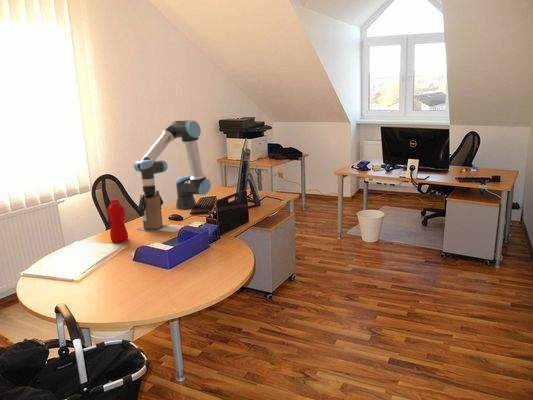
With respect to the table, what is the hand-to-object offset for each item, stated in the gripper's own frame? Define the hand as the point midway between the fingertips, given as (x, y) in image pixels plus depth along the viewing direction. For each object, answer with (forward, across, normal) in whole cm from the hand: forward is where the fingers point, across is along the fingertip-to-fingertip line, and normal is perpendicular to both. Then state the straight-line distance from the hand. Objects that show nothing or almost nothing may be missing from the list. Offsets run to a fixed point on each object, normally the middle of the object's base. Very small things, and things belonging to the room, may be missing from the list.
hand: (152, 217), depth 282 cm
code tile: (+7, 0, 0) cm, 7 cm away
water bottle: (+7, +26, -1) cm, 27 cm away
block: (+7, 0, 0) cm, 7 cm away
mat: (+7, -3, +13) cm, 15 cm away
